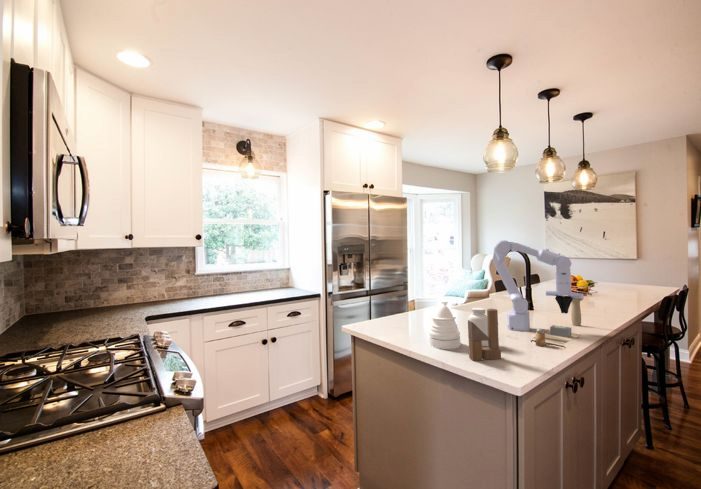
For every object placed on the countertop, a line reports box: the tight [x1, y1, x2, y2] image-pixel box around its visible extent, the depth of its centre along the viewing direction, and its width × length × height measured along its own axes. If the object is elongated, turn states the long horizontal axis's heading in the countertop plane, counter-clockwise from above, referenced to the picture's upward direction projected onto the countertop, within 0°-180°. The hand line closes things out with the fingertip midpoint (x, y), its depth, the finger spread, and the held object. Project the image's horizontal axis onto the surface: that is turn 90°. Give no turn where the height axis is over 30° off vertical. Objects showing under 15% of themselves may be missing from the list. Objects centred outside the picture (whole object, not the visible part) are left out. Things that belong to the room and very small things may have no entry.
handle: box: [571, 298, 584, 327], centre depth 161 cm, size 5×6×15 cm
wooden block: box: [467, 308, 502, 362], centre depth 123 cm, size 4×11×18 cm, turn 96°
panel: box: [531, 330, 581, 348], centre depth 143 cm, size 20×12×1 cm, turn 128°
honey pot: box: [428, 300, 461, 350], centre depth 142 cm, size 13×13×18 cm
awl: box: [535, 328, 546, 347], centre depth 136 cm, size 3×3×6 cm
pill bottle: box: [468, 307, 488, 348], centre depth 140 cm, size 8×8×15 cm
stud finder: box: [549, 324, 573, 338], centre depth 145 cm, size 4×7×4 cm, turn 42°
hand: (564, 313), depth 149 cm, fingers closed
